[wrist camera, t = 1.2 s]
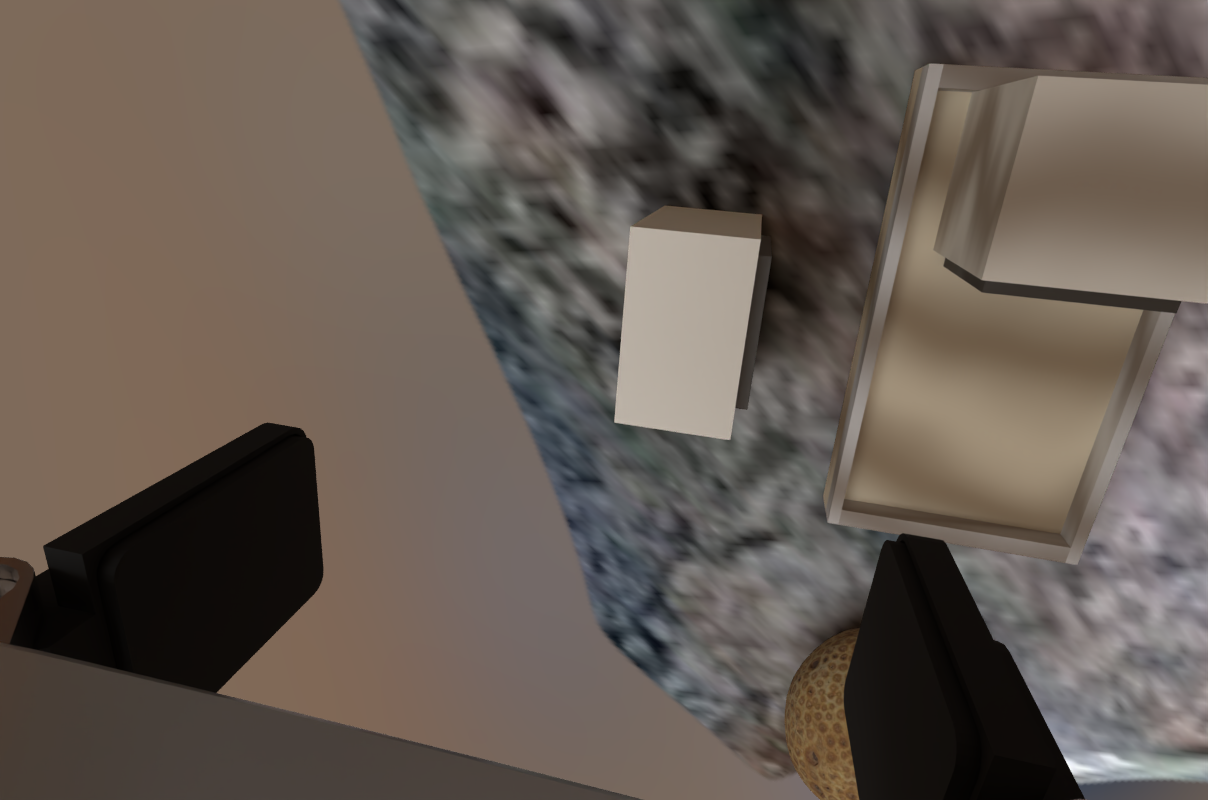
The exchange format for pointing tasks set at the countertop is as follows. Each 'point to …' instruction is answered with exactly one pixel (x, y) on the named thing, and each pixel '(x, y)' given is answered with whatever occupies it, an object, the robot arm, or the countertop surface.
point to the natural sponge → (822, 720)
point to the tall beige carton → (691, 319)
